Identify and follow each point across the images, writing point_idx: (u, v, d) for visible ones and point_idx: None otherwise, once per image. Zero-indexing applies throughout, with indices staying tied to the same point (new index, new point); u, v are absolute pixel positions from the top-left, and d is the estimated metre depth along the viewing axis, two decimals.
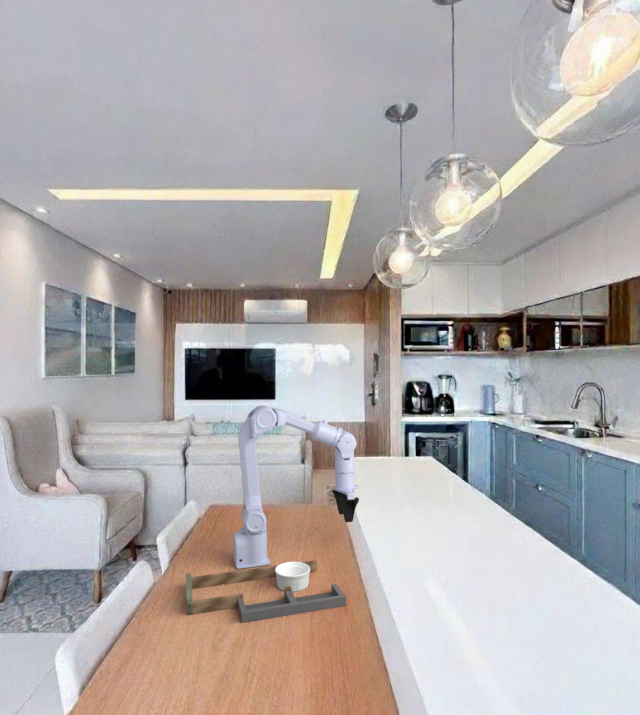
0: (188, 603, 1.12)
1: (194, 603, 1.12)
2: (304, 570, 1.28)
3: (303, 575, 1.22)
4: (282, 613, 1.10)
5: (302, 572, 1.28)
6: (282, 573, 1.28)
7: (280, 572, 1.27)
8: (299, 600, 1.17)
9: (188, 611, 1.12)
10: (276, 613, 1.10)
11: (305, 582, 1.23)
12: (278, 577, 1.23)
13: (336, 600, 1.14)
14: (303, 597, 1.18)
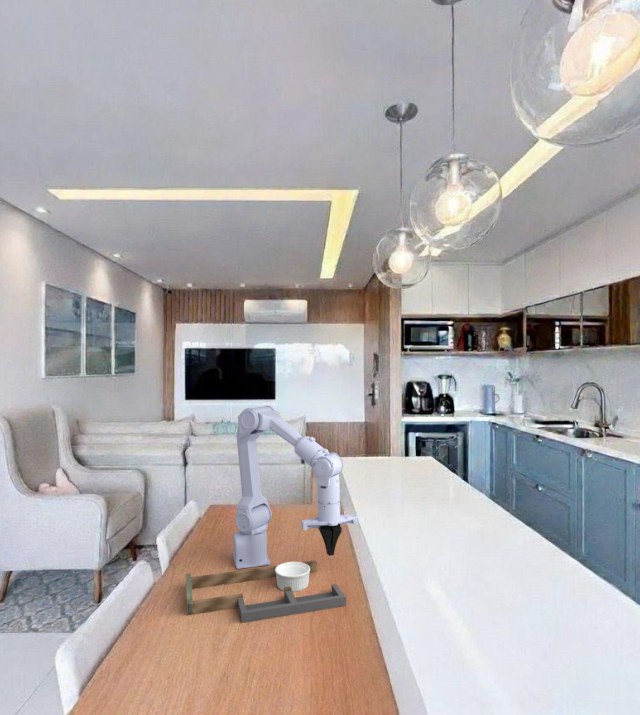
0: (188, 603, 1.12)
1: (194, 603, 1.12)
2: (304, 570, 1.28)
3: (303, 575, 1.22)
4: (282, 613, 1.10)
5: (302, 572, 1.28)
6: (282, 573, 1.28)
7: (280, 572, 1.27)
8: (299, 600, 1.17)
9: (188, 611, 1.12)
10: (276, 613, 1.10)
11: (305, 582, 1.23)
12: (278, 577, 1.23)
13: (336, 600, 1.14)
14: (303, 597, 1.18)
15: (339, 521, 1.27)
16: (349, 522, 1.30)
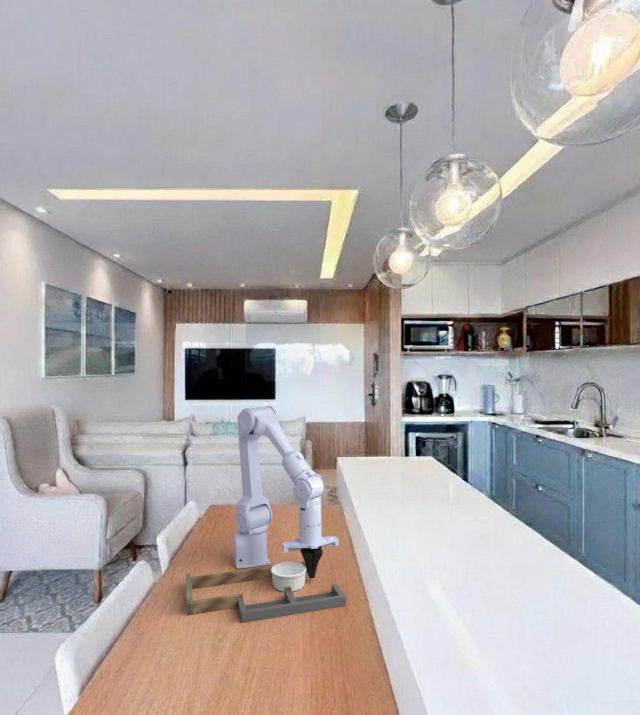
0: (188, 603, 1.12)
1: (194, 603, 1.12)
2: (300, 570, 1.27)
3: (299, 575, 1.22)
4: (282, 613, 1.10)
5: (298, 572, 1.28)
6: (278, 573, 1.28)
7: (276, 572, 1.27)
8: (299, 600, 1.17)
9: (188, 611, 1.12)
10: (276, 613, 1.10)
11: (301, 582, 1.23)
12: (274, 577, 1.23)
13: (336, 600, 1.14)
14: (303, 597, 1.18)
15: (320, 544, 1.25)
16: (331, 544, 1.28)
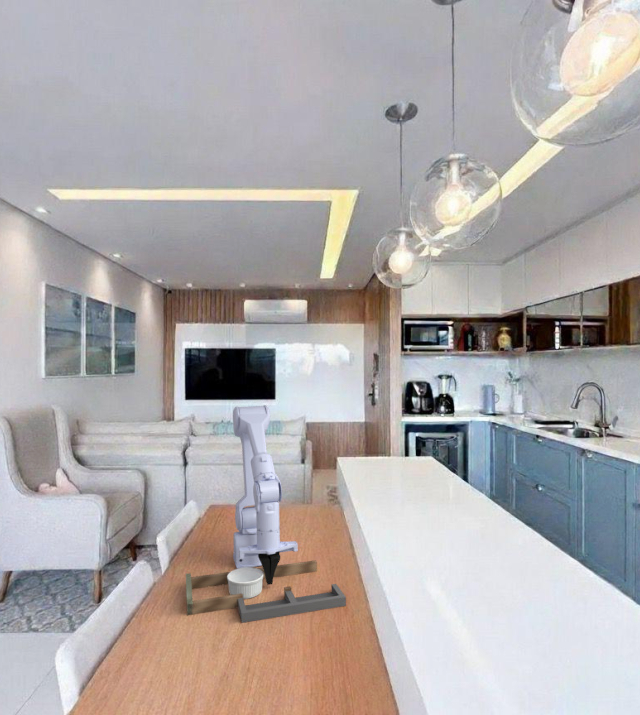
0: (188, 603, 1.12)
1: (194, 603, 1.12)
2: (258, 576, 1.24)
3: (255, 581, 1.19)
4: (282, 613, 1.10)
5: (256, 578, 1.25)
6: (235, 579, 1.24)
7: (233, 578, 1.24)
8: (299, 600, 1.17)
9: (188, 611, 1.12)
10: (276, 613, 1.10)
11: (257, 588, 1.20)
12: (230, 584, 1.20)
13: (336, 600, 1.14)
14: (303, 597, 1.18)
15: (278, 549, 1.22)
16: (289, 549, 1.25)
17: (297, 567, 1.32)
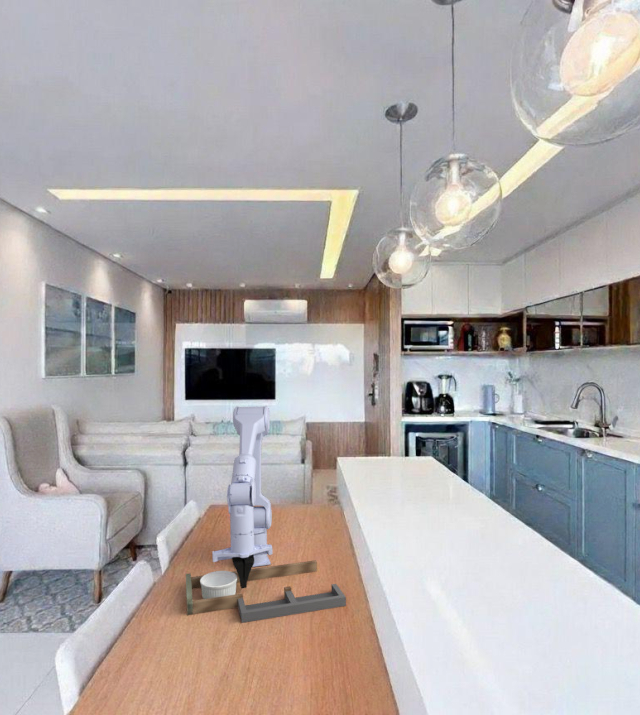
0: (188, 603, 1.12)
1: (194, 603, 1.12)
2: (232, 580, 1.23)
3: (228, 585, 1.17)
4: (282, 613, 1.10)
5: (230, 582, 1.23)
6: (209, 583, 1.23)
7: (206, 582, 1.22)
8: (299, 600, 1.17)
9: (188, 611, 1.12)
10: (276, 613, 1.10)
11: (230, 592, 1.18)
12: (202, 587, 1.18)
13: (336, 600, 1.14)
14: (303, 597, 1.18)
15: (251, 552, 1.20)
16: (264, 553, 1.23)
17: (297, 567, 1.32)
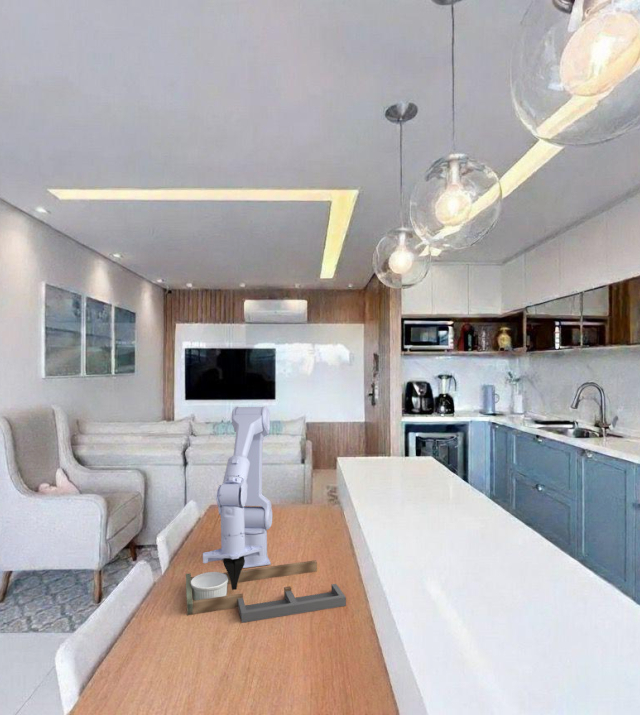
0: (188, 603, 1.12)
1: (194, 603, 1.12)
2: (223, 581, 1.22)
3: (219, 587, 1.17)
4: (282, 613, 1.10)
5: (221, 583, 1.23)
6: (200, 584, 1.22)
7: (197, 583, 1.21)
8: (299, 600, 1.17)
9: (188, 611, 1.12)
10: (276, 613, 1.10)
11: (221, 594, 1.18)
12: (193, 589, 1.17)
13: (336, 600, 1.14)
14: (303, 597, 1.18)
15: (242, 554, 1.20)
16: (255, 554, 1.23)
17: (297, 567, 1.32)
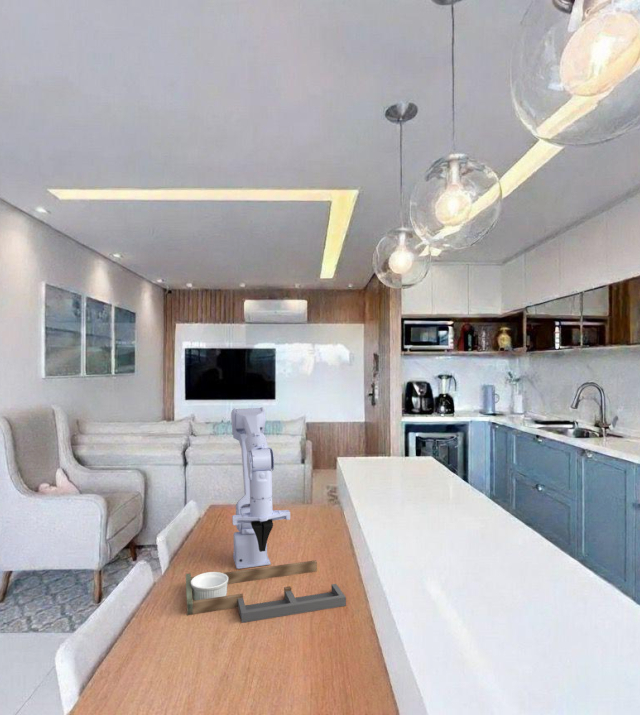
0: (188, 603, 1.12)
1: (194, 603, 1.12)
2: (223, 581, 1.22)
3: (219, 587, 1.17)
4: (282, 613, 1.10)
5: (221, 583, 1.23)
6: (200, 584, 1.22)
7: (197, 583, 1.21)
8: (299, 600, 1.17)
9: (188, 611, 1.12)
10: (276, 613, 1.10)
11: (221, 594, 1.18)
12: (193, 589, 1.17)
13: (336, 600, 1.14)
14: (303, 597, 1.18)
15: (270, 517, 1.24)
16: (282, 518, 1.27)
17: (297, 567, 1.32)
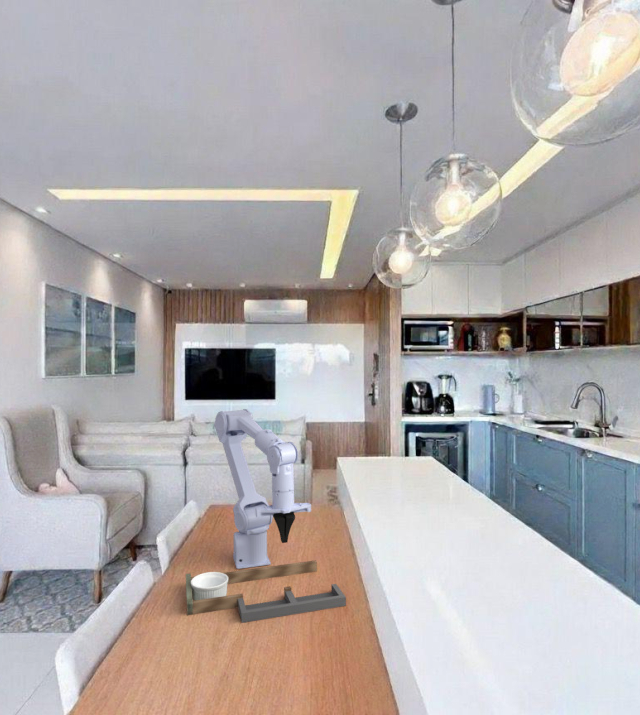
0: (188, 603, 1.12)
1: (194, 603, 1.12)
2: (223, 581, 1.22)
3: (219, 587, 1.17)
4: (282, 613, 1.10)
5: (221, 583, 1.23)
6: (200, 584, 1.22)
7: (197, 583, 1.21)
8: (299, 600, 1.17)
9: (188, 611, 1.12)
10: (276, 613, 1.10)
11: (221, 594, 1.18)
12: (193, 589, 1.17)
13: (336, 600, 1.14)
14: (303, 597, 1.18)
15: (292, 509, 1.28)
16: (303, 510, 1.32)
17: (297, 567, 1.32)
